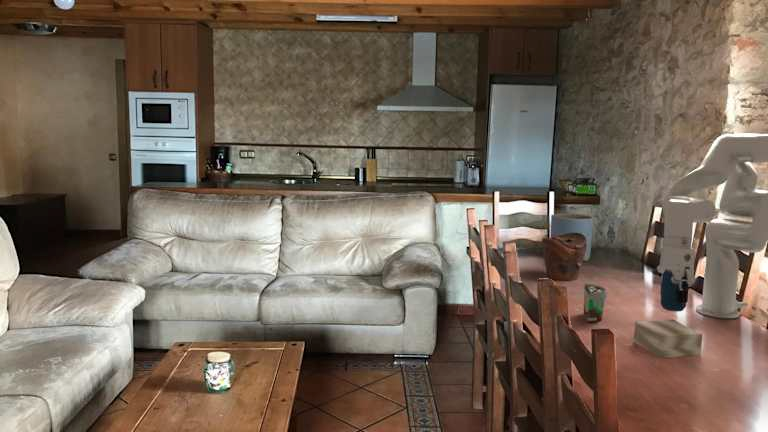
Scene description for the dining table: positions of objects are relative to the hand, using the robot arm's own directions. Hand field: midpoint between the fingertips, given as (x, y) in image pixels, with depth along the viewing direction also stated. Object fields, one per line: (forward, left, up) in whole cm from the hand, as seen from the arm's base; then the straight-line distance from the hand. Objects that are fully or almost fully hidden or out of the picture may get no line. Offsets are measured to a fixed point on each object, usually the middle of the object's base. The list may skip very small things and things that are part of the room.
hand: (673, 298), depth 178 cm
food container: (+18, -13, -10) cm, 24 cm away
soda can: (0, 0, -3) cm, 3 cm away
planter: (-18, -100, -10) cm, 102 cm away
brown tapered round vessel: (+3, -66, -10) cm, 66 cm away
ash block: (+12, +14, -10) cm, 21 cm away
